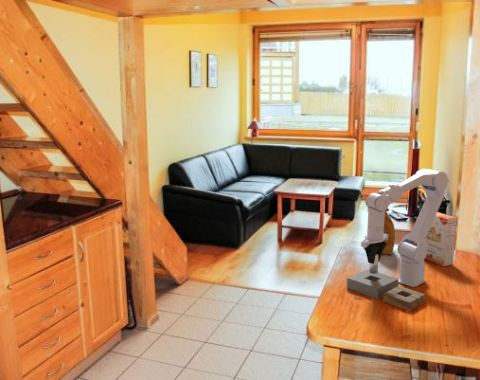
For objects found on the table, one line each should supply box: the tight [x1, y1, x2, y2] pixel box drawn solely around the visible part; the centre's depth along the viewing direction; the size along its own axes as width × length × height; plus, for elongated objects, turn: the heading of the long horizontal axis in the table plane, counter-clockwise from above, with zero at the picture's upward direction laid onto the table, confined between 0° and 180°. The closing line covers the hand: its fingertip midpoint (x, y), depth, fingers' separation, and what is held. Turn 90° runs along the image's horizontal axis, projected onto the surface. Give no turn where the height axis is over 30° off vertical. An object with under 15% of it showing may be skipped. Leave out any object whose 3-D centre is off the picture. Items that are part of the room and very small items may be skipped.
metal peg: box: [369, 253, 379, 274], centre depth 180 cm, size 3×3×7 cm
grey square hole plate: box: [346, 269, 399, 300], centre depth 182 cm, size 13×13×4 cm
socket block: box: [382, 285, 426, 312], centre depth 171 cm, size 10×10×3 cm
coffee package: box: [382, 207, 396, 256], centre depth 222 cm, size 10×12×22 cm
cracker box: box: [424, 211, 458, 268], centre depth 210 cm, size 14×6×21 cm, turn 25°
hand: (373, 261), depth 180 cm, fingers closed on metal peg, 3 cm apart
